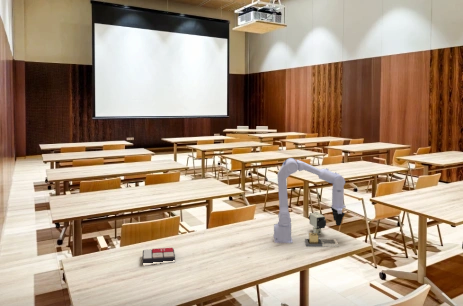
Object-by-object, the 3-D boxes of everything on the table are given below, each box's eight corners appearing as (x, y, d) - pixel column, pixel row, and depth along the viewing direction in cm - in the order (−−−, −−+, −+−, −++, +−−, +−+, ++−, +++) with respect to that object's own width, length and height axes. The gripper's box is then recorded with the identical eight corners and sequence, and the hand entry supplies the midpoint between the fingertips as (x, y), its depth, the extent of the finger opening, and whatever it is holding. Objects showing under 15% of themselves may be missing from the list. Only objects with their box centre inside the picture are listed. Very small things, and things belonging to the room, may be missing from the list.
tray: (306, 247, 189) (306, 244, 189) (304, 241, 196) (304, 238, 195) (338, 247, 188) (338, 244, 187) (335, 241, 194) (335, 238, 194)
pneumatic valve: (318, 238, 200) (318, 216, 198) (308, 230, 211) (308, 210, 209) (327, 236, 201) (327, 215, 200) (317, 229, 213) (317, 209, 211)
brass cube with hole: (309, 245, 190) (309, 235, 189) (308, 242, 194) (308, 232, 193) (318, 245, 190) (318, 235, 189) (316, 242, 194) (316, 232, 193)
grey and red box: (175, 255, 174) (142, 257, 171) (175, 264, 175) (142, 266, 172) (173, 246, 185) (142, 248, 182) (173, 254, 186) (142, 256, 182)
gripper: (348, 201, 184) (347, 227, 186) (343, 193, 199) (342, 218, 201) (333, 201, 185) (333, 227, 187) (329, 193, 199) (329, 218, 202)
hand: (337, 222), depth 194 cm, fingers open, 7 cm apart
